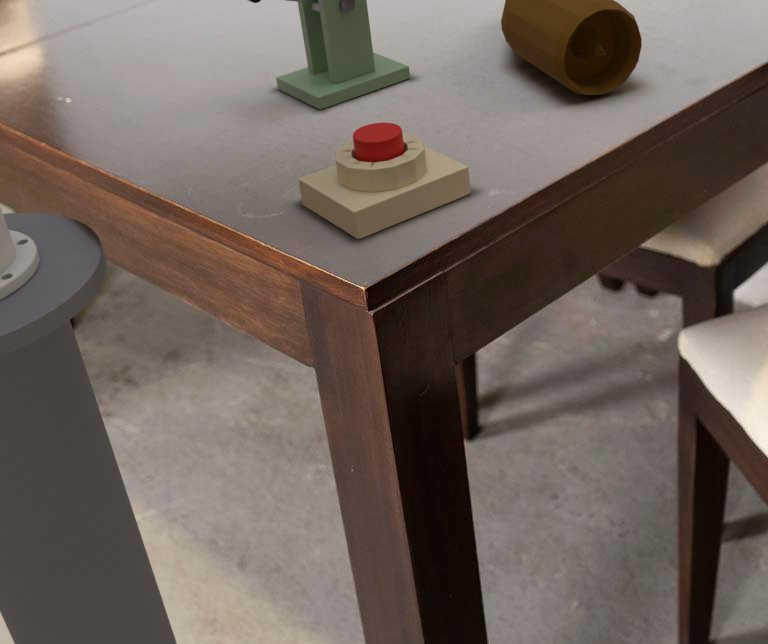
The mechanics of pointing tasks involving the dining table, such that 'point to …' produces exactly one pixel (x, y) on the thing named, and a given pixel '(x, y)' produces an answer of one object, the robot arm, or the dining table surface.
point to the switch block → (383, 187)
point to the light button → (378, 142)
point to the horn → (575, 41)
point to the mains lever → (314, 3)
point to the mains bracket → (339, 56)
